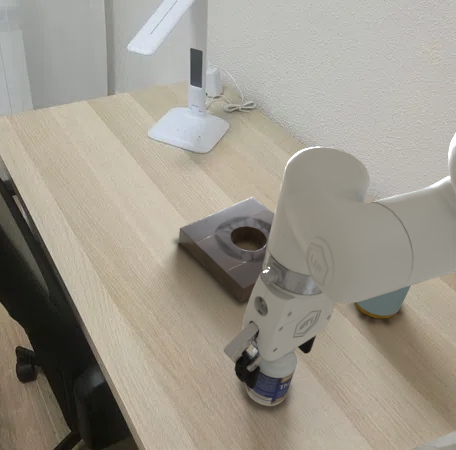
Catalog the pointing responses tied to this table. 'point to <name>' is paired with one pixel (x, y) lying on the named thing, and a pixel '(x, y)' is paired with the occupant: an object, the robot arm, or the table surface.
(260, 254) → the socket board
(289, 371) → the pill bottle
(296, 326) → the robot arm
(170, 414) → the table surface
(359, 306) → the bottle
